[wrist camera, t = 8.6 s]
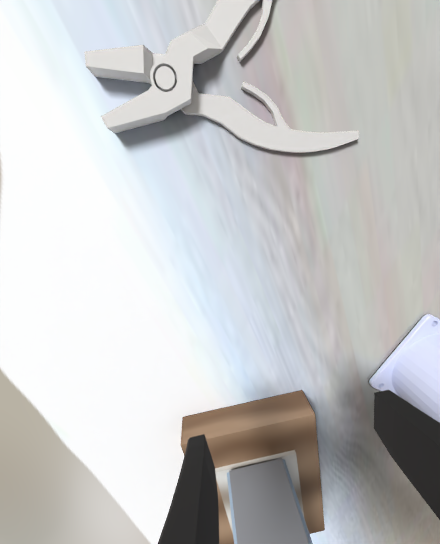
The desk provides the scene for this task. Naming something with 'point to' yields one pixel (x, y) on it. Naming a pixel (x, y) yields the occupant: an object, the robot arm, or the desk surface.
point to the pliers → (183, 93)
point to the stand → (263, 449)
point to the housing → (265, 505)
